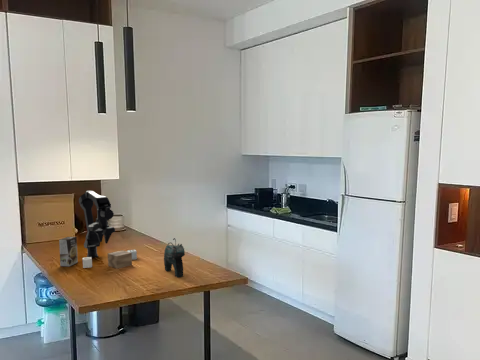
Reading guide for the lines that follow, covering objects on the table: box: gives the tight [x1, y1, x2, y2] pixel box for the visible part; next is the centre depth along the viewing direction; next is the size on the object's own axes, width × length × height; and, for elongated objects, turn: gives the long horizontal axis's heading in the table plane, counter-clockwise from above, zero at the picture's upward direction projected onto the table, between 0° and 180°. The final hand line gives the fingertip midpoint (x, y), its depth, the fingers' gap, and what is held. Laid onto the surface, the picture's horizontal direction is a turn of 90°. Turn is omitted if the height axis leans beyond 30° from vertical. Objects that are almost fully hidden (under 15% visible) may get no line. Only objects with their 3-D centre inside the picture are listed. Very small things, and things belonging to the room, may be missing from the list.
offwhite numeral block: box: [82, 256, 93, 269], centre depth 261 cm, size 5×5×5 cm
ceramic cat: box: [163, 238, 186, 279], centre depth 241 cm, size 20×6×20 cm, turn 32°
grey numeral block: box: [127, 249, 138, 261], centre depth 277 cm, size 5×5×5 cm
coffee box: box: [58, 236, 79, 267], centre depth 266 cm, size 9×6×16 cm
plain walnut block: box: [107, 250, 133, 270], centre depth 261 cm, size 10×10×8 cm
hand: (103, 242), depth 269 cm, fingers open, 6 cm apart
